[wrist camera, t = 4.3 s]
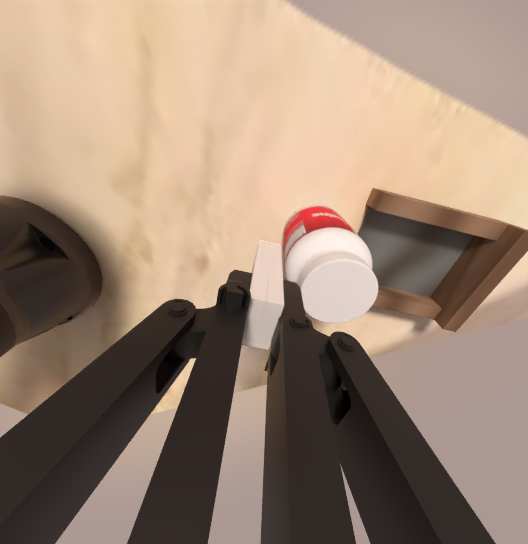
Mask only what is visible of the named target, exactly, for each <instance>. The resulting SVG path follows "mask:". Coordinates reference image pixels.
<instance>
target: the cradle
mask: <svg viewBox="0 0 528 544" xmlns="http://www.w3.org/2000/svg"><path fill="white" fill-rule="evenodd" d="M366 204H367V205H368V206H370V208H369V211H368V213H367V215H366V217H365V219H364V221H363V224H362V226H361V228H360V230H359V232H358V236H359V237H360V238H361V239H362V240H363V241H364V242H365V244H366V245H367V247H368V249H369V251H370V253H371V256H372V271H373V273H374V274H375V276H376V278H377V281H378V294H377V297H376V300H375V302H374V304H373V305H372V306H375V307H380V308H384V309H389V310H393V311H398V312H403V313H407V314H412V315H416V316H421V317H426V318H430V319H434V320H435V321H436V322H437V323H438V324H439V325H440V327H441V328H442V329H445V330H450V331H454V332H456V331H457V330H458V329H459V328H460V326H461V325H462V324H463V323H464V322H465V321H466V320H467V319H468V317H469V316H470V315H471V314H472V313H473V312H474V311H475V310H476V308H477V307H478V306H479V305H480V304H481V303H482V302H483V301H484V300H485V298H486V297H487V296H488V295H489V294H490V293H491V292H492V291H493V289H494V288H495V287H496V286H497V285H498V284H499V283H500V282H501V280H502V279H503V278H504V277H505V276H506V275H507V274H508V273H509V271H510V270H511V269H512V268H513V267H514V266H515V265H516V264H517V262H518V261H519V260H520V259H521V258H522V257H523V256H524V255H525V253H526V252H527V251H528V230H526V229H523V228H520V227H517V226H514V225H511V224H508V223H505V222H502V221H499V220H495V219H491V218H488V217H484V216H480V215H476V214H472V213H468V212H464V211H460V210H457V209H453V208H449V207H445V206H441V205H437V204H433V203H430V202H426V201H422V200H418V199H414V198H410V197H406V196H402V195H399V194H395V193H391V192H387V191H383V190H379V189H375V188H373V190H372V192H371V194H370V196H369V198H368V201H367V203H366Z"/></svg>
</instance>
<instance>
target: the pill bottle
mask: <svg viewBox="0 0 528 544" xmlns="http://www.w3.org/2000/svg"><path fill="white" fill-rule="evenodd" d="M283 246H284V260H285V274H286V278H287V281H291V282H296V283H297V284H298V286H299V287H300V288H301V293H302V300H303V305H304V310H305V311H306V312H307V313H308V314H309V315H310V316H311V317H313V318H314V319H317V320H319V321H322V322H326V323H343V322H348V321H351V320H353V319H356V318H358V317H360V316H361V315H363V314H364V313H365V312H367V311H368V310H369V309H370V308H371V306H372V305H373V304H374V302H375V300H376V297H377V294H378V281H377V278H376V276H375V274H374V273H373V271H372V256H371V253H370V251H369V249H368V247H367V245H366V244H365V242H364V241H363V240H362V239H361V238H360V237H359V236H358V234H357V233H356V232H355V231H354V230H353V229H352V228H351V227H350V226H349V225H348V224H347V222H346V221H345V220H344V219H343V218H342V217H341V216H340V215H339V214H338V213H337V212H336V211H334V210H333V209H331V208H330V207H327V206H325V205H319V204H313V205H307V206H304V207H302V208H300V209H298V210H297V211H295V212H294V213H293V214H292V215H291V216H290V217H289V219H288V220H287V222H286V224H285V227H284V231H283Z"/></svg>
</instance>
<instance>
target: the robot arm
mask: <svg viewBox="0 0 528 544" xmlns="http://www.w3.org/2000/svg"><path fill="white" fill-rule="evenodd" d="M101 285H102V282H101V274H100V270H99V267H98V264H97V262H96V260H95V258H94V256H93V254H92V253H91V251H90V249H89V248H88V247H87V245H86V244H85V243H84V241H83V240H82V239H81V238H80V237H79V236H78V235H77V234H76V233H75V232H74V231H73V230H72V229H71V228H70V227H69V226H68V225H67V224H65V223H64V222H63V221H62V220H60V219H59V218H57V217H56V216H54V215H53V214H51V213H50V212H48V211H46V210H45V209H43V208H41V207H39V206H37V205H34V204H32V203H30V202H27V201H24V200H21V199H17V198H13V197H8V196H0V357H1V356H2V355H4V354H5V353H6V352H8V351H9V350H10V349H12V348H13V347H14V346H16V345H17V344H19V343H21V342H24V341H26V340H28V339H31V338H33V337H35V336H37V335H40V334H42V333H44V332H46V331H48V330H50V329H52V328H54V327H56V326H57V325H61V324H64V323H67V322H69V321H72V320H74V319H75V318H77V317H78V316H80V315H81V314H82V313H84V312H85V311H86V310H87V309H88V308H89V307H90V306H92V305H93V304H94V303H95V301H96V300H97V299H98V297H99V295H100V292H101ZM241 345H246V346H251V347H256V348H261V349H266V350H269V348H270V345H271V352H270V355H269V358H268V361H267V364H266V366H265V371H267V369H268V376H267V401H266V425H265V450H264V451H265V452H264V474H263V499H262V523H261V524H262V525H261V544H356V541H355V536H354V531H353V526H352V521H351V516H350V511H349V506H348V501H347V496H346V491H345V486H344V481H343V476H342V471H341V466H342V469H343V472H344V474H345V477H346V479H347V482H348V485H349V488H350V490H351V493H352V496H353V498H354V501H355V503H356V506H357V509H358V511H359V514H360V517H361V519H362V522H363V525H364V527H365V530H366V533H367V535H368V538H369V541H370V543H371V544H495V542H494V541H493V539H492V538H491V536H490V535H489V533H488V532H487V530H486V529H485V528H484V526H483V524H482V523H481V521H480V520H479V519H478V517H477V516H476V514H475V513H474V511H473V510H472V508H471V507H470V505H469V504H468V502H467V501H466V499H465V498H464V496H463V495H462V494H461V492H460V491H459V489H458V488H457V486H456V485H455V483H454V482H453V480H452V479H451V477H450V476H449V474H448V473H447V471H446V470H445V468H444V467H443V466H442V464H441V463H440V461H439V460H438V458H437V457H436V455H435V454H434V452H433V451H432V449H431V448H430V446H429V445H428V444H427V442H426V441H425V439H424V438H423V436H422V435H421V433H420V432H419V430H418V429H417V427H416V426H415V424H414V423H413V421H412V420H411V418H410V417H409V415H408V414H407V412H406V411H405V410H404V408H403V407H402V405H401V404H400V402H399V401H398V399H397V398H396V396H395V395H394V393H393V392H392V390H391V389H390V387H389V386H388V385H387V383H386V382H385V380H384V379H383V377H382V376H381V374H380V373H379V371H378V370H377V368H376V367H375V365H374V364H373V362H372V361H371V359H370V358H369V357H368V355H367V354H366V352H365V351H364V349H363V348H362V346H361V345H360V343H359V342H358V341H357V340H356V339H355V338H354V337H352V336H351V335H349V334H347V333H344V332H339V331H338V332H334V333H332V334H331V336H330V337H329V336H327V335H325V334H322V333H320V332H318V331H317V330H315V329H314V328H313V325H312V323H311V321H310V320H309V319H308V318H307V317H306V316H305V311H304V305H303V300H302V293H301V288H300V287H299V286H298V284H297V283H296V282H291V281H287V280H283V271H282V252H281V245H280V244H276V243H272V242H268V241H263V240H259V243H258V247H257V252H256V256H255V260H254V264H253V269H252V273H248V272H243V271H239V270H234V271H233V272H231V273H230V274H229V277H228V280H227V282H226V284H224V285H222V286H221V287H220V288H219V290H218V296H217V303H216V305H215V306H213V307H210V308H205V309H196V307H195V306H194V304H193V303H191V302H189V301H188V300H183V299H174V300H169V301H167V302H165V303H164V304H162V305H161V306H160V307H159V308H157V309H156V310H155V311H154V312H153V313H151V314H150V315H149V316H148V317H146V318H145V319H144V320H143V321H142V322H140V323H139V324H138V325H137V326H136V327H134V328H133V329H132V330H131V331H129V332H128V333H127V334H126V335H125V336H123V337H122V338H121V339H120V340H119V341H117V342H116V343H115V344H114V345H112V346H111V347H110V348H109V349H108V350H106V351H105V352H104V353H103V354H102V355H100V356H99V357H98V358H97V359H95V360H94V361H93V362H92V363H91V364H89V365H88V366H87V367H86V368H84V369H83V370H82V371H81V372H80V373H78V374H77V375H76V376H75V377H74V378H72V379H71V380H70V381H69V382H67V383H66V384H65V385H64V386H63V387H61V388H60V389H59V390H58V391H57V392H55V393H54V394H53V395H52V396H50V397H49V398H48V399H47V400H46V401H44V402H43V403H42V404H41V405H40V406H38V407H37V408H36V409H35V410H33V411H32V412H31V413H30V414H29V415H27V416H26V417H25V418H24V419H23V420H21V421H20V422H19V423H18V424H16V425H15V426H14V427H13V428H12V429H10V430H9V431H8V432H7V433H6V434H4V435H3V436H2V437H1V438H0V544H55V543H56V541H57V540H58V539H59V537H60V536H61V535H62V533H63V531H65V529H66V528H67V526H68V525H69V524H70V522H71V521H72V520H73V518H74V517H75V516H76V514H77V513H78V512H79V510H80V509H81V507H82V506H83V505H84V503H85V502H86V501H87V499H88V498H89V497H90V495H91V494H92V493H93V491H94V490H95V488H96V487H97V486H98V484H99V483H100V481H101V480H102V479H103V478H104V476H105V475H106V473H107V472H108V471H109V469H110V468H111V467H112V465H113V464H114V463H115V461H116V460H117V459H118V457H119V456H120V454H121V453H122V452H123V450H124V449H125V448H126V446H127V445H128V443H129V442H130V441H131V439H132V438H133V437H134V435H135V434H136V433H137V431H138V430H139V428H140V427H141V426H142V424H143V423H144V422H145V420H146V419H147V417H148V416H149V415H150V414H151V412H152V411H153V410H154V408H155V407H156V405H157V404H158V403H159V401H160V400H161V399H162V397H163V396H164V395H165V393H166V392H167V390H168V389H169V388H170V386H171V385H172V384H173V382H174V381H175V380H176V378H177V377H178V376H179V374H180V373H181V371H182V370H183V369H184V367H185V366H186V365H187V363H188V362H189V360H190V358H196V360H195V363H194V366H193V368H192V371H191V374H190V376H189V379H188V382H187V385H186V387H185V390H184V393H183V395H182V398H181V401H180V403H179V406H178V409H177V411H176V414H175V417H174V419H173V422H172V425H171V428H170V430H169V433H168V435H167V439H166V441H165V443H164V446H163V449H162V452H161V454H160V457H159V460H158V462H157V465H156V468H155V471H154V473H153V476H152V478H151V481H150V484H149V486H148V489H147V492H146V495H145V497H144V500H143V502H142V505H141V508H140V511H139V513H138V516H137V519H136V521H135V524H134V527H133V529H132V532H131V535H130V538H129V540H128V543H127V544H208V538H209V532H210V527H211V521H212V515H213V509H214V503H215V497H216V491H217V486H218V479H219V474H220V467H221V462H222V456H223V451H224V445H225V439H226V433H227V427H228V421H229V415H230V409H231V404H232V398H233V392H234V386H235V380H236V374H237V368H238V363H239V357H240V351H241ZM340 464H341V466H340Z"/></svg>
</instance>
